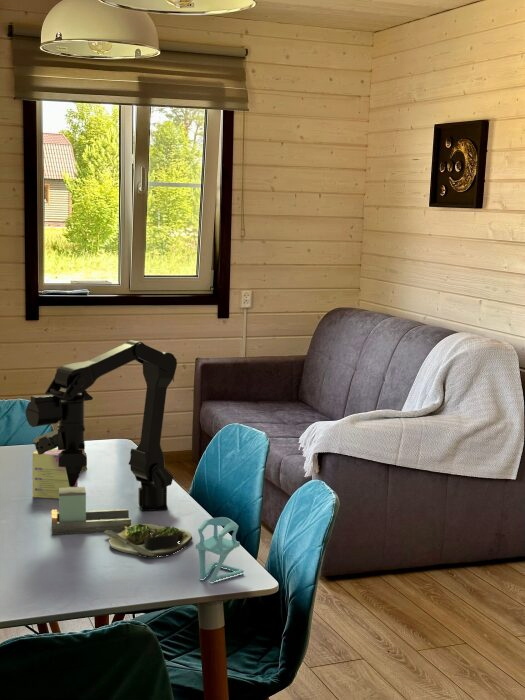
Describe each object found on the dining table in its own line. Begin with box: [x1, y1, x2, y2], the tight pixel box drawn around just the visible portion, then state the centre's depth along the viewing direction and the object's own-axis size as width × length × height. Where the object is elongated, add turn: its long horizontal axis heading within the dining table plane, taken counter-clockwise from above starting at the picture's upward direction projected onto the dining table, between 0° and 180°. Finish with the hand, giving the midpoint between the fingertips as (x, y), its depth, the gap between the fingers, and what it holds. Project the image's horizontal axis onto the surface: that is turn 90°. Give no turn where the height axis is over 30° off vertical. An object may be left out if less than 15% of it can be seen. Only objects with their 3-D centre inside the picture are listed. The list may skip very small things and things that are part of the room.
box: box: [31, 448, 79, 500], centre depth 237 cm, size 10×6×12 cm, turn 84°
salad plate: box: [103, 522, 193, 558], centre depth 206 cm, size 19×18×5 cm
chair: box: [195, 516, 245, 582], centre depth 188 cm, size 8×8×12 cm
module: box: [58, 486, 87, 522], centre depth 214 cm, size 6×4×8 cm
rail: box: [51, 508, 132, 536], centre depth 216 cm, size 18×9×4 cm, turn 103°
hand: (71, 486), depth 214 cm, fingers closed
